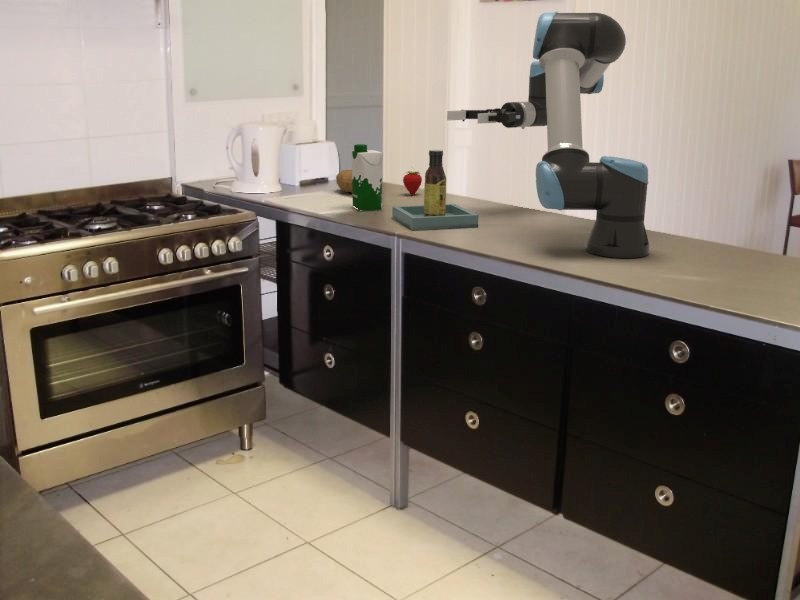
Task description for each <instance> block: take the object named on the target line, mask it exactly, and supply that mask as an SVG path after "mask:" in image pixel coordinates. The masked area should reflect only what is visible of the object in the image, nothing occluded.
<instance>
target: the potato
mask: <svg viewBox="0 0 800 600" xmlns="http://www.w3.org/2000/svg"><path fill="white" fill-rule="evenodd" d="M336 184H337V186H338V188H340V189H341V190H343V191H344V192H346V191H347V193H348V192H352V169H343V170H340V171H339V172H338V174H337V176H336Z"/></svg>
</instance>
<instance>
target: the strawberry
mask: <svg viewBox="0 0 800 600" xmlns="http://www.w3.org/2000/svg"><path fill="white" fill-rule="evenodd" d="M411 167H412V169H414V168H413V166H412V165H411ZM420 174H421V173H420V171H415V170H413V171H410V170H409V171H407V172H406V174H405V175H404V176H403V177H402V183H403V185H404V187H405V189H406V190H407V192H408V193H409V194H410V195H411V196H415V195H416V193H417V191H418V190H419V189H420V186H421V185H422V181H423V178H422V176H421V175H420Z"/></svg>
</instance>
